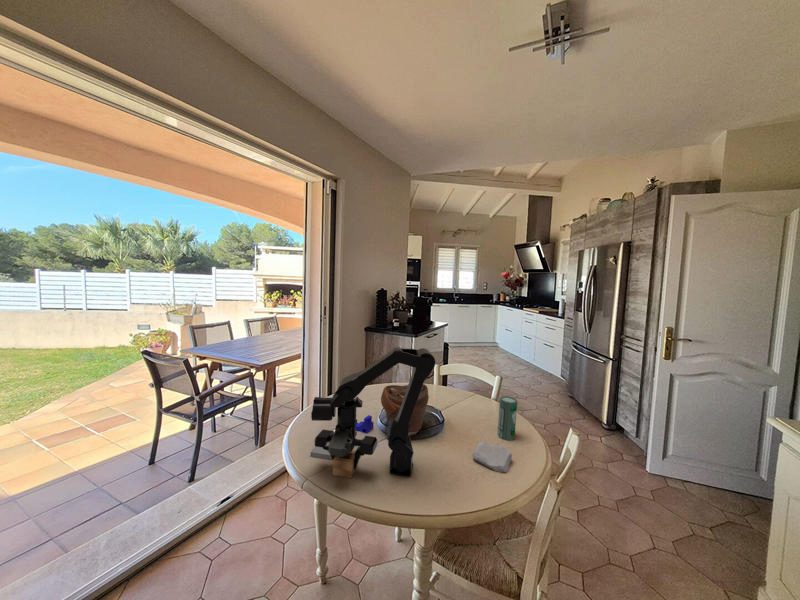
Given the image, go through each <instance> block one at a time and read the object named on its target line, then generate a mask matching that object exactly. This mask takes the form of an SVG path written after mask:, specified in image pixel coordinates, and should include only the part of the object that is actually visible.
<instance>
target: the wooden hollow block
mask: <svg viewBox="0 0 800 600" xmlns="http://www.w3.org/2000/svg"><path fill="white" fill-rule="evenodd" d="M355 451H356V450H354V449H353V450H352V452H348V453H346V455H345V456H344V457H340V456H335V457H334V459H333V460H332V476H334V477H335V476H336V477H341V478H348V479H352V478H353V476H354V475H355V472H356V471H357V469H358V466H359V464H358V465H357V468H356V470H354V461H355V455H354V453H355Z"/></svg>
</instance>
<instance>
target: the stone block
mask: <svg viewBox="0 0 800 600" xmlns="http://www.w3.org/2000/svg"><path fill="white" fill-rule="evenodd" d="M512 455H513V454H512V452H511V451H510V449H508V448H506V447H504V446H499V445H497V446H496V445H490V444H488V442H487V443H486V441H481V442H479V443H477V446H476V447H475V449H474V451H473V454H472V458H473V460H474V461H476V462H477V463H480V464H482V465H483V466H485V467H486V468H488V469H491V470H493V471H495V472H499V473H507V472H508V471H509V470H510V465H511V462H512Z"/></svg>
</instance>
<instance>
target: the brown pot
mask: <svg viewBox="0 0 800 600" xmlns="http://www.w3.org/2000/svg"><path fill="white" fill-rule="evenodd" d="M407 387H408V384H406V385H405V384H404V385H397V384H396V385H394V384H390V385H385V387H383V389H382V393H381V396H380V402H381V407H383V409H384V410H385V415H386V419H387V420H386V421H387V426H388V425H389V421H390V418H391V419H395V418H396V417H397V415H398V413H399V410H400V407H401V404H402V401H403V398H404V395H405V393H406V390H407ZM429 399H430V396H429V388H428V386H427V385H426V384H424V383H423V386H422V389H421V391H420V394H419V397H418V400H417V403H416V406H415V408H414V411H413V414H412V417H411V420H410V423H409V432H415V431H418V430H420V429H421V430H422V426H423V422H424V418H425V413H426V410H427V406H428V402H429ZM421 430H420V431H421ZM409 432H408V433H409ZM415 435H417V434H415ZM415 435H414V434H411V435H408V436H409V437H412V436H413V437H414V436H415Z"/></svg>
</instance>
